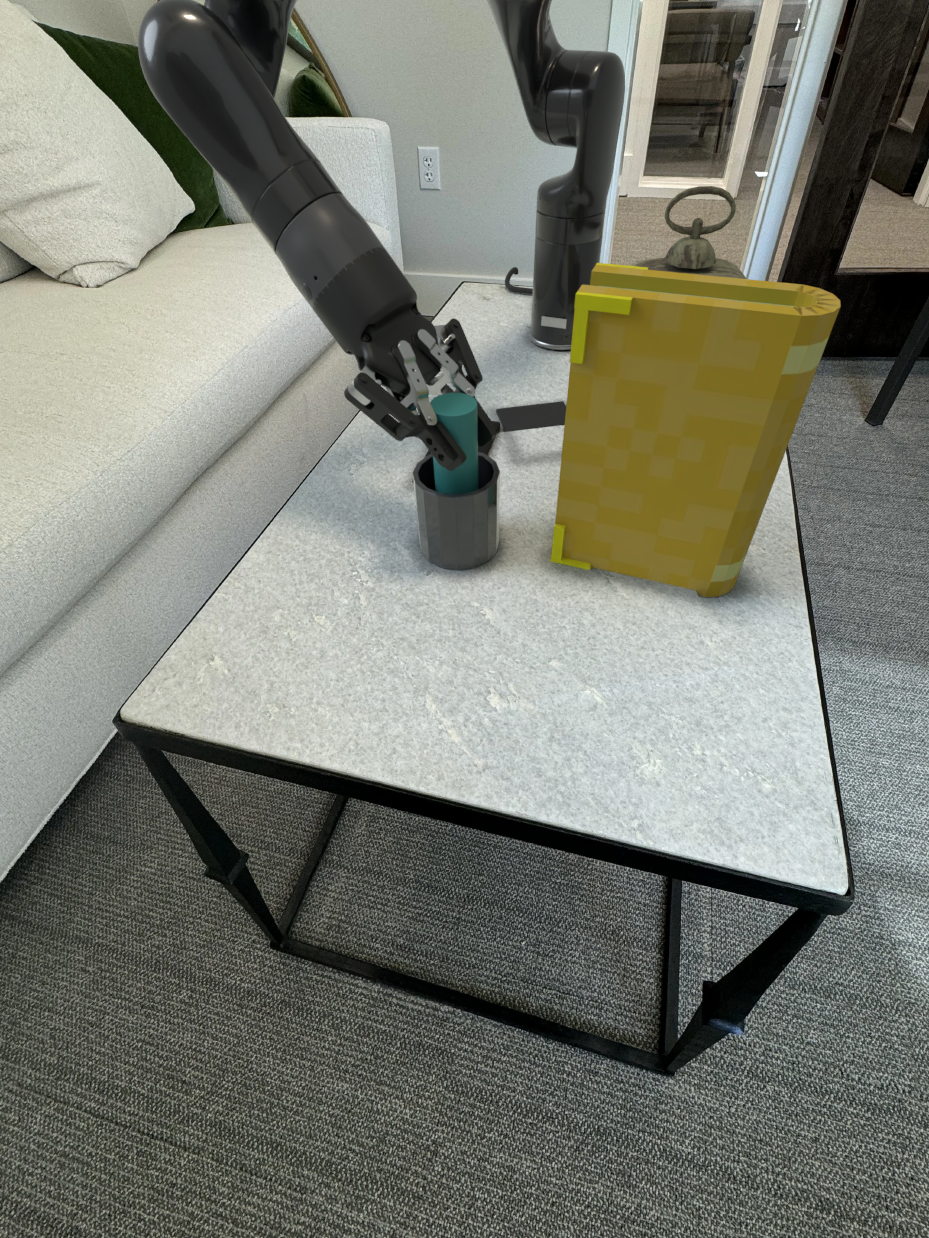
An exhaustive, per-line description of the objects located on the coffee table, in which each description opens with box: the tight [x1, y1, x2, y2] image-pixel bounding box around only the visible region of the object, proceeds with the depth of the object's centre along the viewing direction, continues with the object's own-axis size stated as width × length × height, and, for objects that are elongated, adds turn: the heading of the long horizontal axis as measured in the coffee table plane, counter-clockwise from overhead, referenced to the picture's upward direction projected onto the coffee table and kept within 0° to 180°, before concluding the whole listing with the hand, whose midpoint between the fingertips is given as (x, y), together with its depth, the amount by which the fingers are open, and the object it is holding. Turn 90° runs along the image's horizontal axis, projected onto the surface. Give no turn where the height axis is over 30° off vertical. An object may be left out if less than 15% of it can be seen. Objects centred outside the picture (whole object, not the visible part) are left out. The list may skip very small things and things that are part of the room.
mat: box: [495, 400, 567, 433], centre depth 80 cm, size 12×9×1 cm
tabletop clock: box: [629, 185, 748, 279], centre depth 72 cm, size 14×9×25 cm, turn 88°
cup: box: [412, 452, 501, 571], centre depth 61 cm, size 8×8×9 cm
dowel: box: [430, 393, 478, 494], centre depth 59 cm, size 6×6×15 cm
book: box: [550, 262, 842, 598], centre depth 53 cm, size 17×7×25 cm, turn 69°
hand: (473, 452), depth 55 cm, fingers closed on dowel, 4 cm apart
